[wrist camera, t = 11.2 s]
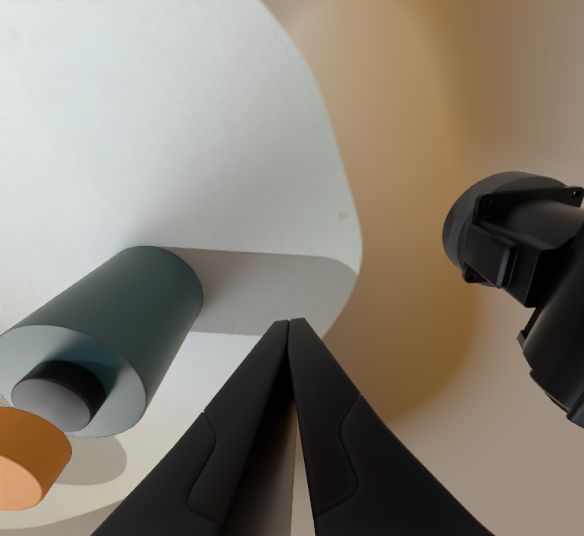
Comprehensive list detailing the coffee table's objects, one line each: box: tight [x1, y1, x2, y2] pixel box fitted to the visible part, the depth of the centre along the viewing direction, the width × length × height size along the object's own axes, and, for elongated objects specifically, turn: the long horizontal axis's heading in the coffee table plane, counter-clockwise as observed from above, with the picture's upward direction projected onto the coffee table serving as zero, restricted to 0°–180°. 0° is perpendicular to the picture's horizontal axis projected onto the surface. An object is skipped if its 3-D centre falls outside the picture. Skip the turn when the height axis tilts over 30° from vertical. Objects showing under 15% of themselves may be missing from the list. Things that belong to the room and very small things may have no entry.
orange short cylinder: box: [0, 407, 72, 511], centre depth 11 cm, size 4×4×2 cm
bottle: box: [0, 246, 203, 437], centre depth 17 cm, size 7×7×10 cm
